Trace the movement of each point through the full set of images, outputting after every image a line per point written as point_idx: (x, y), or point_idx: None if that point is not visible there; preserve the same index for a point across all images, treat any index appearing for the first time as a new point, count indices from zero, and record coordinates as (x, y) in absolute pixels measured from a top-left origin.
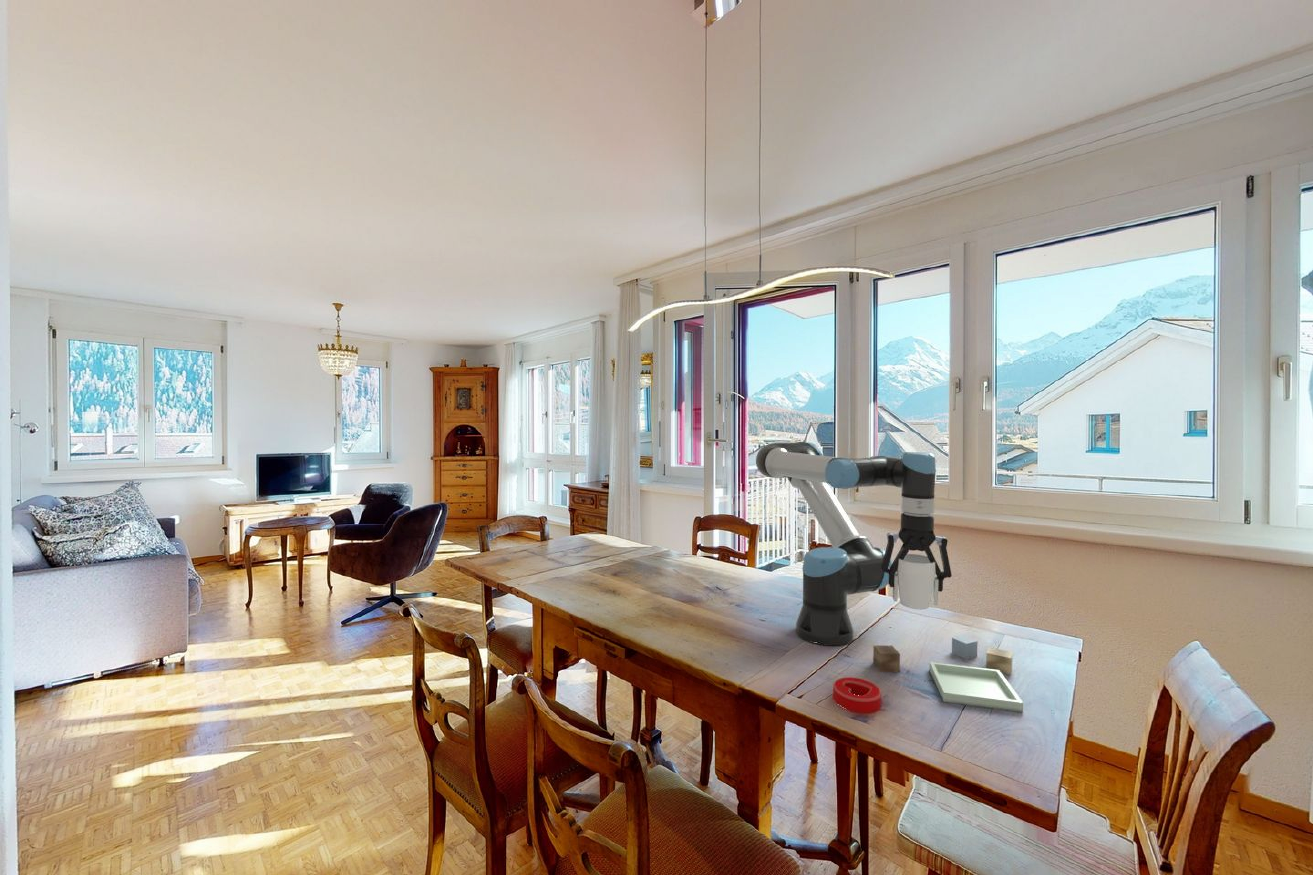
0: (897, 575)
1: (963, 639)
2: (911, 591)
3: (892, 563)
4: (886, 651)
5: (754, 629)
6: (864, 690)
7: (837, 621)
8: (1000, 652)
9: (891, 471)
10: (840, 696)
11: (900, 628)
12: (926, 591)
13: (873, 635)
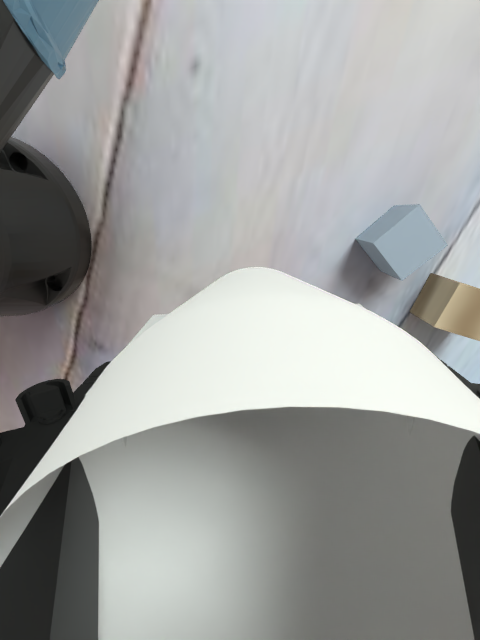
0: (124, 443)
1: (406, 246)
2: (229, 448)
3: (8, 485)
4: None
5: None
6: None
7: (11, 305)
8: (476, 312)
9: None
10: None
11: (231, 65)
12: (310, 447)
13: (144, 180)
